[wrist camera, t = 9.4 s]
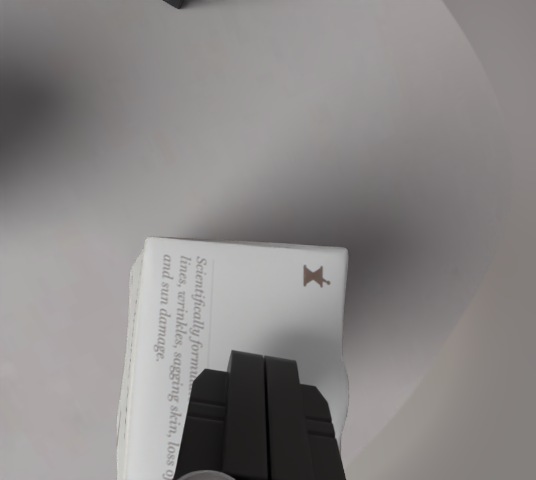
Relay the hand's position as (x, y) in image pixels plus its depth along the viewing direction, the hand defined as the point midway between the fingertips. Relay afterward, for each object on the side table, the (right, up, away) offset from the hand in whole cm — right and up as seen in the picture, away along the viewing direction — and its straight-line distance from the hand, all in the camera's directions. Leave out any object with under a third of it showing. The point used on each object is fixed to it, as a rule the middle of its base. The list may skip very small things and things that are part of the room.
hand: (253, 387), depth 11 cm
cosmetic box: (-5, -2, +15) cm, 16 cm away
